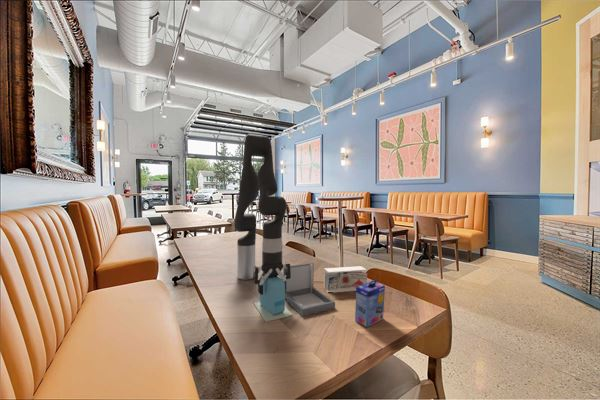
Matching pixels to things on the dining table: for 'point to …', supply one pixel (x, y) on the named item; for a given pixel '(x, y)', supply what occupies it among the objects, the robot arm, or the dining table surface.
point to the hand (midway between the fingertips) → (272, 292)
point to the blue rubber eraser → (273, 295)
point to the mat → (267, 315)
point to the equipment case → (305, 291)
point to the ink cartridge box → (369, 303)
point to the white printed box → (344, 278)
